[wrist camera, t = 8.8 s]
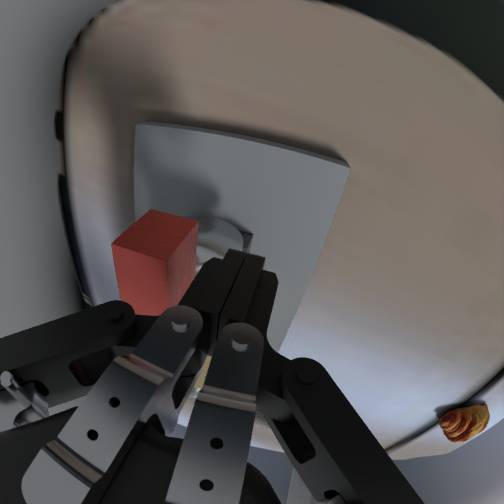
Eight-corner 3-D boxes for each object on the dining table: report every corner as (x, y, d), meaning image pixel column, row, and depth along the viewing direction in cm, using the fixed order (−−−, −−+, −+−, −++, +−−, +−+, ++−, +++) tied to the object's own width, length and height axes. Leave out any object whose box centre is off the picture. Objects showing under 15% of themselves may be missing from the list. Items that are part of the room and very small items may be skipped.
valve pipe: (230, 359, 29) (211, 416, 23) (181, 342, 29) (155, 395, 23) (264, 218, 19) (236, 289, 13) (183, 198, 19) (126, 255, 13)
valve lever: (194, 382, 18) (182, 413, 16) (162, 371, 18) (148, 400, 16) (203, 222, 10) (172, 263, 8) (146, 207, 11) (106, 242, 8)
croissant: (489, 397, 35) (508, 413, 27) (464, 431, 36) (480, 449, 28) (448, 389, 33) (471, 412, 25) (415, 431, 34) (433, 456, 26)
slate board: (262, 378, 33) (260, 388, 31) (155, 344, 34) (151, 352, 32) (348, 162, 17) (350, 168, 15) (146, 121, 18) (135, 123, 16)
